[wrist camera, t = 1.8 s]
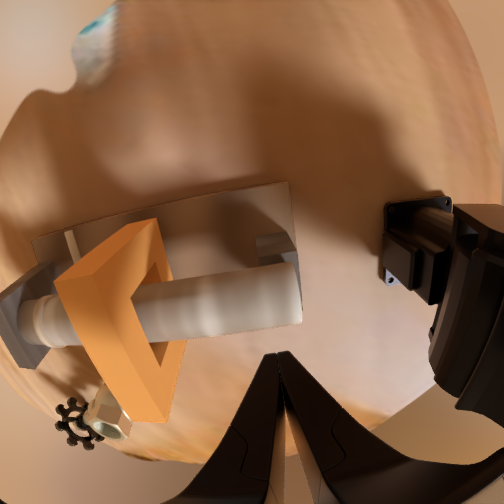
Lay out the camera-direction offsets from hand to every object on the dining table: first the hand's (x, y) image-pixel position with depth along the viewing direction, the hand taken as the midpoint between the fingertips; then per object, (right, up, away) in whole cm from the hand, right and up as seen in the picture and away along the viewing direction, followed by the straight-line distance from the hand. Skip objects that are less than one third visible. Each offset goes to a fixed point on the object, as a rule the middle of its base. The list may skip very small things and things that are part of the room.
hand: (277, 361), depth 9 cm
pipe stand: (-8, +2, +10) cm, 13 cm away
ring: (-7, +2, +8) cm, 11 cm away
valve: (-16, -11, +15) cm, 25 cm away
